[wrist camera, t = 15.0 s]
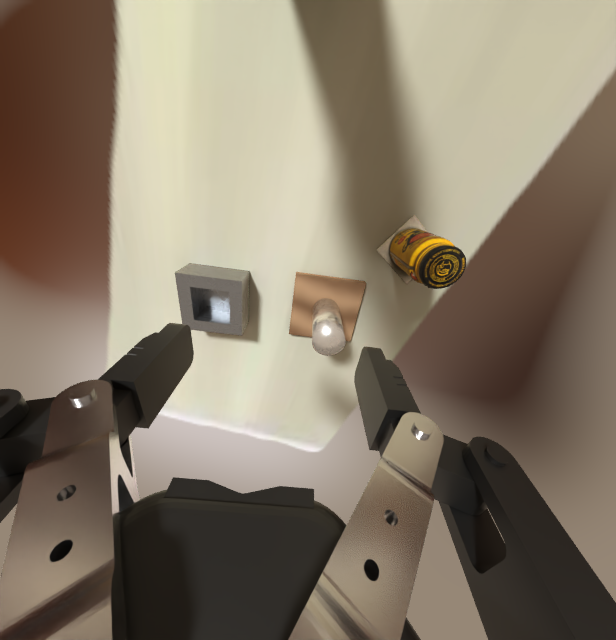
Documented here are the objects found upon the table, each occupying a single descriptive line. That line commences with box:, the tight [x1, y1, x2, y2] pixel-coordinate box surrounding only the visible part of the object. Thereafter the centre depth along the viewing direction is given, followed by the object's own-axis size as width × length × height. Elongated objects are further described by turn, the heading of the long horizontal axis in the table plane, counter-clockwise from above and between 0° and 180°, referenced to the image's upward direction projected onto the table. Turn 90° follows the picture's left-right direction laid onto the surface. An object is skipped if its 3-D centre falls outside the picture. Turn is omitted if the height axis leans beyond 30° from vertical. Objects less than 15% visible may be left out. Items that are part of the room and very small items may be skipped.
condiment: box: [377, 215, 466, 289], centre depth 33 cm, size 7×8×12 cm
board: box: [289, 272, 366, 341], centre depth 43 cm, size 12×12×1 cm
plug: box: [312, 298, 346, 356], centre depth 38 cm, size 5×5×10 cm
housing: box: [175, 263, 249, 336], centre depth 40 cm, size 10×10×5 cm
